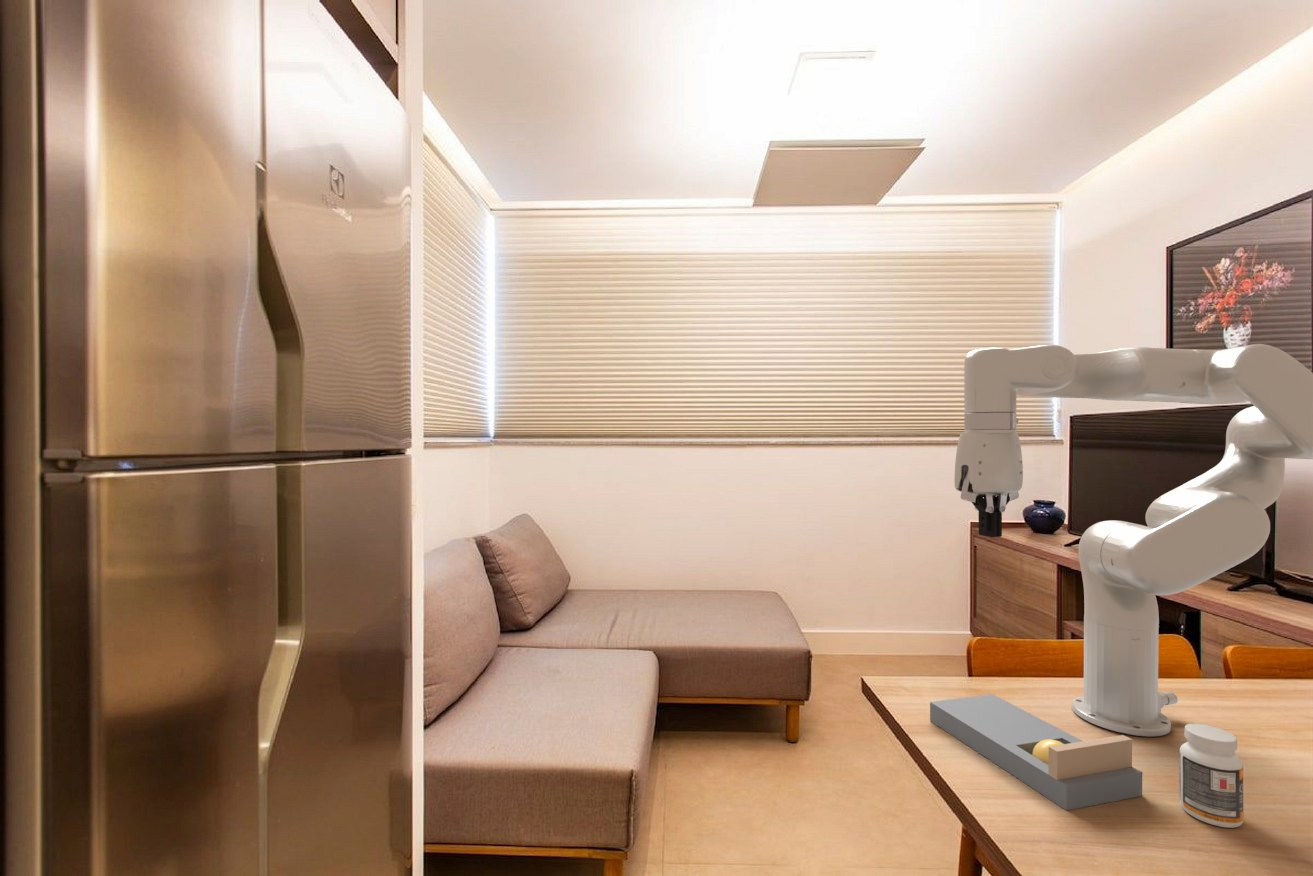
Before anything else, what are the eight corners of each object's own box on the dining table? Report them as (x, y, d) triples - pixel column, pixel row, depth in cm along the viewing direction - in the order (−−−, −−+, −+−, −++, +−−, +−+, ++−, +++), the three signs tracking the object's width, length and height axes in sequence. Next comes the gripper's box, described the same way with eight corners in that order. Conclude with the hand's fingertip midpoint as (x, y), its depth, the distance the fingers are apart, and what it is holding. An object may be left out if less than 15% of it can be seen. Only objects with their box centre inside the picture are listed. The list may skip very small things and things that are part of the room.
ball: (1088, 788, 78) (1054, 776, 83) (1086, 746, 80) (1052, 736, 84) (1056, 786, 77) (1023, 774, 82) (1054, 743, 79) (1022, 734, 83)
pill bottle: (1256, 833, 70) (1257, 746, 70) (1198, 826, 71) (1199, 741, 71) (1221, 804, 76) (1221, 723, 76) (1168, 798, 77) (1168, 719, 77)
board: (992, 712, 100) (992, 672, 100) (1142, 795, 77) (1142, 744, 77) (930, 720, 97) (930, 680, 97) (1066, 810, 74) (1066, 757, 74)
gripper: (1007, 424, 106) (1007, 530, 106) (935, 424, 102) (935, 534, 102) (1045, 424, 99) (1045, 537, 99) (970, 423, 95) (970, 542, 95)
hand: (990, 535), depth 101 cm, fingers closed
